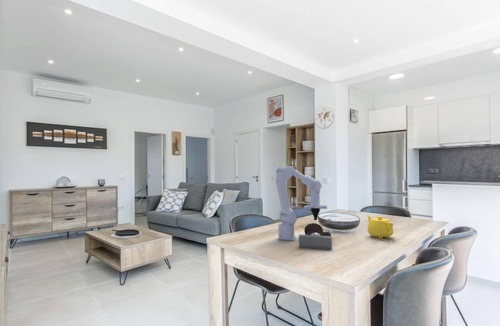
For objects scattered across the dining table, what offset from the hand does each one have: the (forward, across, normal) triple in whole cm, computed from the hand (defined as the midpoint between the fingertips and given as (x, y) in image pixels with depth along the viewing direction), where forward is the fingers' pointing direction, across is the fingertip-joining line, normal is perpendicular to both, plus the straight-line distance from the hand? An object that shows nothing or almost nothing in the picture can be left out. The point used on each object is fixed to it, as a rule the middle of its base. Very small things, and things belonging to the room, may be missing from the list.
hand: (315, 220), depth 178 cm
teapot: (+9, +37, -8) cm, 39 cm away
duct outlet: (+9, -7, -30) cm, 32 cm away
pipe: (+10, -3, -18) cm, 21 cm away
